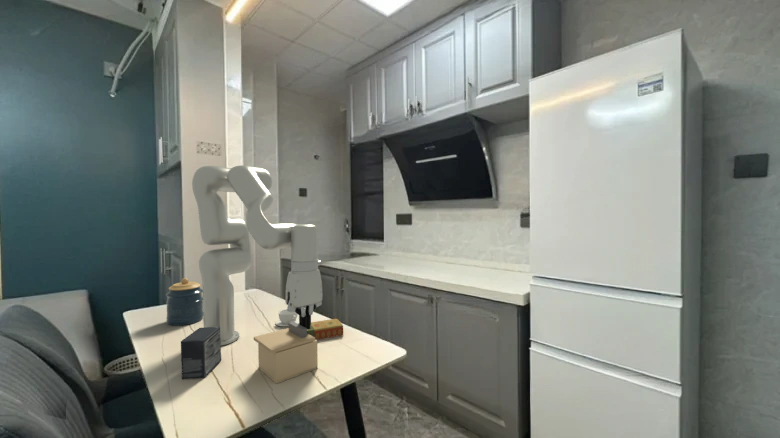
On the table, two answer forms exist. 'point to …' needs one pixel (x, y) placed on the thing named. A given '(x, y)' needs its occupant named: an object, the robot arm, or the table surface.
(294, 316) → the teacup
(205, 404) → the table surface
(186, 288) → the canister
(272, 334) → the box lid
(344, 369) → the table surface
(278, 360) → the shipping box
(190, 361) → the small box
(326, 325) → the carton
